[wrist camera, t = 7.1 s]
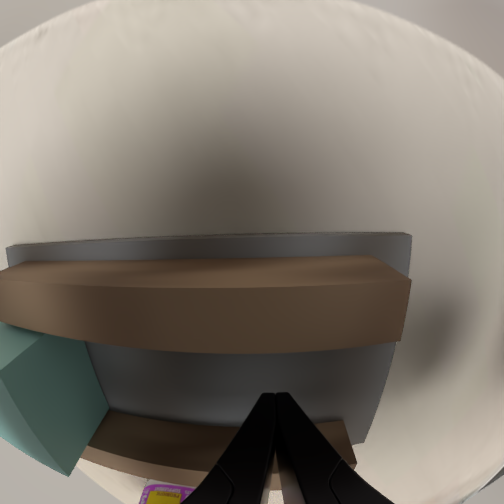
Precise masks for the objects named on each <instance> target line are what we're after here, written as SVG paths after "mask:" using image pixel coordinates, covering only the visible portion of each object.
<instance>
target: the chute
mask: <svg viewBox="0 0 504 504" xmlns="http://www.w3.org/2000/svg"><path fill="white" fill-rule="evenodd" d="M411 245H412V235H409V234H406V233H279V234H235V235H201V236H173V237H148V238H126V239H105V240H87V241H69V242H53V243H38V244H24V245H13V246H10V247H7V248H6V254H7V260H8V265H9V268H7V269H4V270H2V271H0V322H3V323H7V324H10V325H14V326H17V327H21V328H25V329H29V330H33V331H37V332H42V333H46V334H51V335H56V336H60V337H65V338H71V339H76V340H82V341H84V342H85V345H86V348H87V352H88V355H89V357H90V360H91V363H92V366H93V369H94V371H95V374H96V377H97V379H98V382H99V384H100V387H101V389H102V392H103V394H104V396H105V399H106V401H107V403H108V406H109V410H108V411H107V413H106V415H105V416H104V418H103V419H102V421H101V423H100V424H99V426H98V428H97V429H96V431H95V433H94V434H93V436H92V438H91V439H90V441H89V443H88V444H87V446H86V448H85V450H84V451H83V453H82V455H81V456H80V458H83V459H85V460H88V461H91V462H93V463H96V464H99V465H102V466H105V467H108V468H111V469H114V470H117V471H121V472H124V473H128V474H131V475H135V476H139V477H143V478H147V479H152V480H156V481H161V482H167V483H172V484H178V485H184V486H192V487H197V486H198V485H199V484H200V483H201V482H202V481H203V479H204V478H205V477H206V476H207V474H208V473H209V472H210V470H211V469H212V468H213V466H214V465H215V464H216V462H217V461H218V460H219V458H220V457H221V455H222V454H223V452H224V451H225V449H226V448H227V446H228V445H229V444H230V442H231V441H232V439H233V438H234V436H235V435H236V433H237V431H238V430H239V428H240V427H241V425H242V424H243V422H244V421H245V419H246V418H247V416H248V414H249V413H250V411H251V410H252V408H253V406H254V405H255V403H256V401H257V400H258V398H259V397H260V395H261V394H262V393H264V392H274V393H275V394H276V393H277V392H289V393H290V394H291V396H292V397H293V398H294V400H295V401H296V402H297V403H298V405H299V406H300V407H301V408H302V410H303V411H304V412H305V413H306V415H307V416H308V417H309V418H310V420H311V421H312V422H313V423H314V424H315V426H316V427H317V428H318V429H319V431H320V432H321V433H322V434H323V435H324V437H325V438H326V439H327V440H328V441H329V442H330V444H331V445H332V446H333V447H334V448H335V449H336V451H337V452H338V453H339V454H340V455H341V456H342V459H344V460H345V461H346V462H347V463H348V464H349V465H350V466H351V468H352V469H353V470H354V469H355V467H356V465H357V461H356V458H355V455H354V452H353V449H352V445H354V444H359V443H364V441H365V439H366V436H367V434H368V431H369V429H370V426H371V424H372V421H373V418H374V416H375V413H376V410H377V407H378V404H379V401H380V398H381V395H382V392H383V389H384V386H385V383H386V379H387V376H388V372H389V369H390V365H391V362H392V358H393V354H394V350H395V346H396V342H397V341H400V340H401V335H402V331H403V326H404V321H405V316H406V311H407V306H408V300H409V294H410V287H411V279H409V278H408V274H409V265H410V256H411ZM270 490H282V488H281V483H280V477H279V471H278V465H277V459H276V450H275V459H274V466H273V473H272V479H271V486H270Z"/></svg>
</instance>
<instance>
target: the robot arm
mask: <svg viewBox="0 0 504 504" xmlns="http://www.w3.org/2000/svg"><path fill="white" fill-rule="evenodd" d="M275 450H276V459H277V465H278V471H279V477H280V483H281V488H282V494H283V500H284V504H394V503H393V502H392V501H390V500H389V499H388V498H386V497H385V496H383V495H382V494H381V493H380V492H378V491H377V490H376V489H374V488H373V487H372V486H371V485H369V484H368V483H367V482H366V481H365V480H364V479H362V478H361V477H360V476H359V475H358V474H357V473H356V472H355V471H354V470H353V469H352V468H351V466H350V465H349V464H348V463H347V462H346V461H345V460H344V459H342V456H341V455H340V454H339V453H338V452H337V451H336V449H335V448H334V447H333V446H332V445H331V444H330V442H329V441H328V440H327V439H326V438H325V437H324V435H323V434H322V433H321V432H320V431H319V429H318V428H317V427H316V426H315V424H314V423H313V422H312V421H311V420H310V418H309V417H308V416H307V415H306V413H305V412H304V411H303V410H302V408H301V407H300V406H299V405H298V403H297V402H296V401H295V400H294V398H293V397H292V396H291V394H290V393H289V392H277V393H276V394H275V393H274V392H264V393H262V394H261V395H260V397H259V398H258V400H257V401H256V403H255V405H254V406H253V408H252V410H251V411H250V413H249V414H248V416H247V418H246V419H245V421H244V422H243V424H242V425H241V427H240V428H239V430H238V431H237V433H236V435H235V436H234V438H233V439H232V441H231V442H230V444H229V445H228V446H227V448H226V449H225V451H224V452H223V454H222V455H221V457H220V458H219V460H218V461H217V462H216V464H215V465H214V466H213V468H212V469H211V470H210V472H209V473H208V474H207V476H206V477H205V478H204V479H203V481H202V482H201V483H200V484H199V485H198V486H197V488H196V489H195V490H194V491H193V492H192V493H191V494H190V495H189V496H188V497H187V498H185V499H184V500H183V501H182V502H181V503H180V504H268V498H269V492H270V486H271V479H272V473H273V466H274V459H275Z"/></svg>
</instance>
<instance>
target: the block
mask: <svg viewBox="0 0 504 504" xmlns="http://www.w3.org/2000/svg"><path fill="white" fill-rule="evenodd" d="M108 410H109V406H108V403H107V401H106V399H105V396H104V394H103V392H102V389H101V387H100V384H99V382H98V379H97V377H96V374H95V371H94V369H93V366H92V363H91V360H90V357H89V355H88V352H87V348H86V345H85V342H84V341H82V340H76V339H71V338H65V337H60V336H56V335H51V334H46V333H42V332H37V331H33V330H29V329H25V328H21V327H17V326H14V325H10V324H7V323H3V322H0V436H1V437H2V438H3V439H5V440H6V441H8V442H9V443H10V444H12V445H13V446H15V447H16V448H18V449H19V450H21V451H23V452H24V453H26V454H27V455H29V456H30V457H32V458H34V459H35V460H37V461H39V462H41V463H42V464H44V465H46V466H48V467H50V468H52V469H53V470H55V471H57V472H59V473H61V474H63V475H66V476H68V477H69V476H70V474H71V472H72V470H73V469H74V467H75V465H76V463H77V462H78V460H79V458H80V456H81V455H82V453H83V451H84V450H85V448H86V446H87V444H88V443H89V441H90V439H91V438H92V436H93V434H94V433H95V431H96V429H97V428H98V426H99V424H100V423H101V421H102V419H103V418H104V416H105V415H106V413H107V411H108Z"/></svg>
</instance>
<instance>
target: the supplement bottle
mask: <svg viewBox="0 0 504 504" xmlns="http://www.w3.org/2000/svg"><path fill="white" fill-rule="evenodd" d="M196 488H197V487H192V486H184V485H178V484H172V483H167V482H161V481H156V480H152V479H150V480H149V481H148V482H147V483H146V485H145V488H144V490H143V493H142V496H141V498H140V501H139V504H180V503H181V502H182V501H183V500H184V499H185V498H187V497H188V496H189V495H190V494H191V493H192V492H193V491H194V490H195V489H196Z"/></svg>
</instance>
